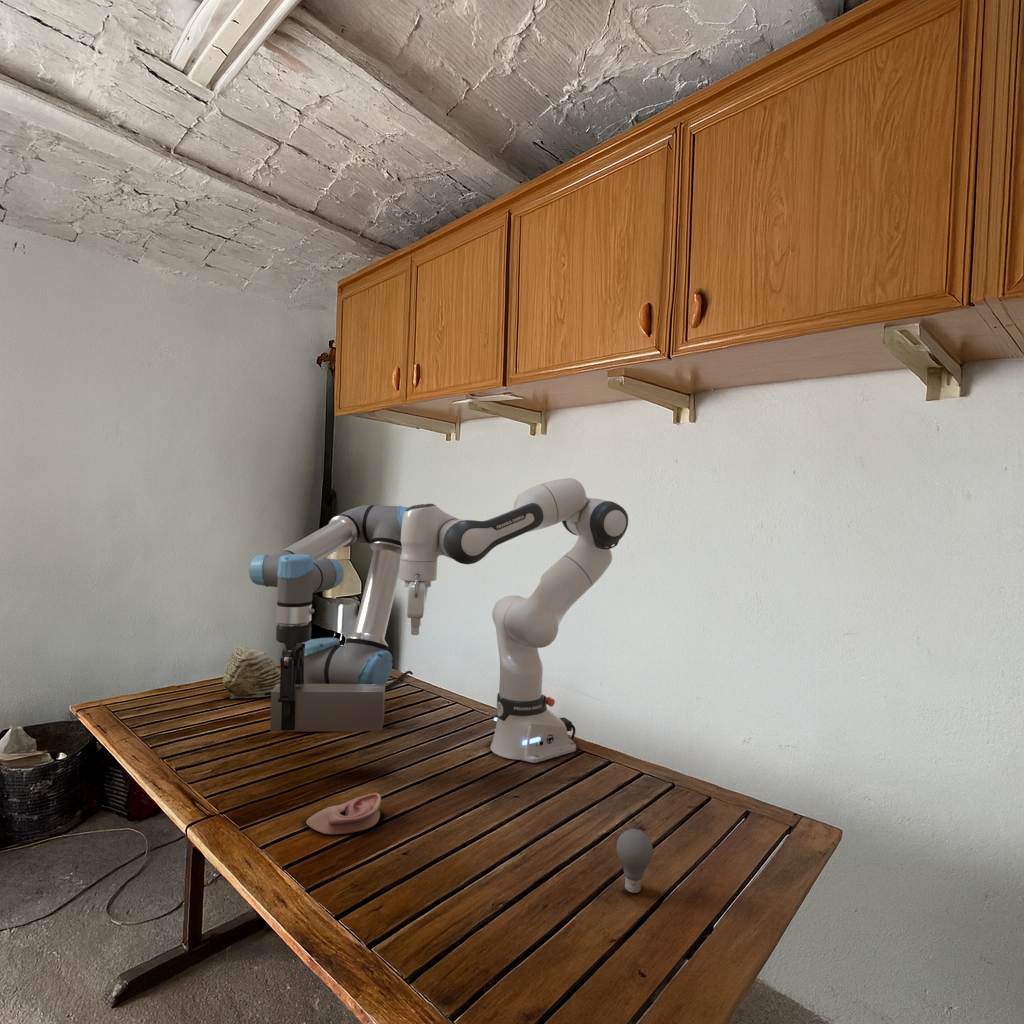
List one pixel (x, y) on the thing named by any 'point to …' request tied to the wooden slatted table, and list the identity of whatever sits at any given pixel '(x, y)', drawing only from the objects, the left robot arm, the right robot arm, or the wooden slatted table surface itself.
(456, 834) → the wooden slatted table surface
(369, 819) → the anatomical model
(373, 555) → the left robot arm
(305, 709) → the bar
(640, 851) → the light bulb
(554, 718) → the right robot arm
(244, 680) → the fossil
